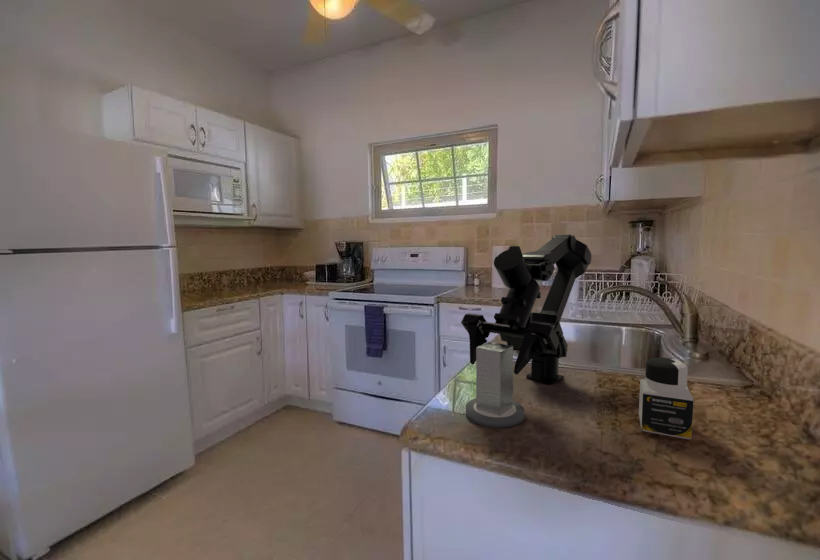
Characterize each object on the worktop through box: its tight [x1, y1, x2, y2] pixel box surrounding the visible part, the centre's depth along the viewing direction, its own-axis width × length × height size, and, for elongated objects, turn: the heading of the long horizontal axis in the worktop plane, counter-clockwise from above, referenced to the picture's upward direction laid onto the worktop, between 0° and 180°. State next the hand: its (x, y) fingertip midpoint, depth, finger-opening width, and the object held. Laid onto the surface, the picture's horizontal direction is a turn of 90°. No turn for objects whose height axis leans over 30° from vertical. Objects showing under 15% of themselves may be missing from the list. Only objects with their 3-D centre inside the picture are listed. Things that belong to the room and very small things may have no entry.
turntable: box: [465, 397, 525, 429], centre depth 74 cm, size 11×11×1 cm
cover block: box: [475, 341, 514, 416], centre depth 73 cm, size 5×5×12 cm
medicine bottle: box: [638, 357, 695, 440], centre depth 67 cm, size 7×7×12 cm
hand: (492, 368), depth 72 cm, fingers open, 9 cm apart
